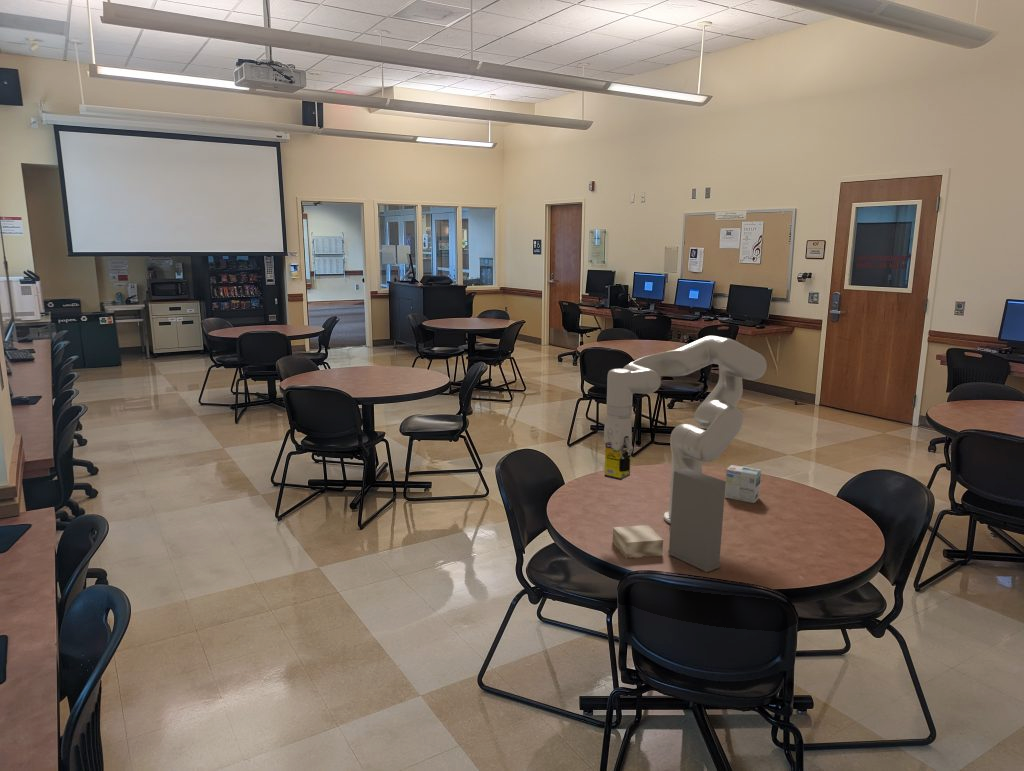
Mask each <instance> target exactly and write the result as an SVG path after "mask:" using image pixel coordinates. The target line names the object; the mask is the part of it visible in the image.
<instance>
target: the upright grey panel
mask: <svg viewBox="0 0 1024 771" xmlns="http://www.w3.org/2000/svg"><path fill="white" fill-rule="evenodd" d="M725 483H726V480H723V479H720V478H718V477H714V476H711V475H709V474H704V473H703V472H702V473H699V472H696V471H693V470H690V469H687V468H685V469H681V470H677V471H674V477H673V494H672V510H671V524H670V526H669V527H670V530H669V542H668V543H669V544H668V546H669V548H668V552H667V553H668V554H667V555H669V556H672V557H674V558H676V559H678V560H681V561H682V562H684V563H685V564H686V563H687V564H688V565H691V566H692V567H695V568H698V569H699V570H701V571H703V572H705V573H708V572H711V571H714V570H716V569H719V568H722V562H721V561H720V558H721V547H722V545H721V544H722V536H723V534H722V533H723V521H724V520H723V519H724V518H723V517H724V509H725V497H724V496H725Z"/></svg>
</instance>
